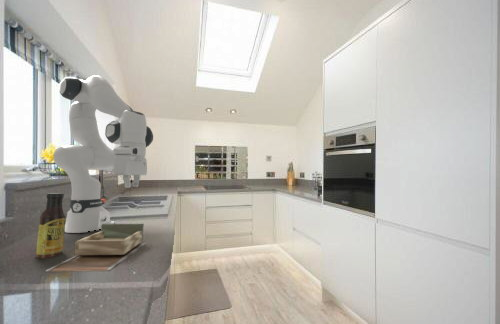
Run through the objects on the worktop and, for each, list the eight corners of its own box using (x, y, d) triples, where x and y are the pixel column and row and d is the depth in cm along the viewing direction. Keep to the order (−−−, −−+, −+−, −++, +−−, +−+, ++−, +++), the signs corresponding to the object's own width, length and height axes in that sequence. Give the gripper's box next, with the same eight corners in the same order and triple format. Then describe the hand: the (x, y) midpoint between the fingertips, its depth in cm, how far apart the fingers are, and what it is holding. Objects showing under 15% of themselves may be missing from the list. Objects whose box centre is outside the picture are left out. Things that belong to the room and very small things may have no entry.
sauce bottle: (46, 262, 65) (50, 194, 67) (29, 260, 67) (34, 193, 68) (68, 254, 72) (72, 192, 73) (52, 253, 73) (56, 192, 74)
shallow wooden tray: (102, 243, 80) (103, 223, 80) (142, 243, 81) (143, 223, 81) (74, 258, 66) (75, 233, 66) (123, 257, 67) (124, 233, 67)
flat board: (99, 247, 80) (99, 243, 80) (145, 246, 81) (145, 242, 81) (44, 275, 57) (45, 270, 57) (109, 274, 58) (109, 269, 58)
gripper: (136, 154, 98) (135, 185, 97) (110, 148, 77) (108, 188, 76) (151, 154, 98) (150, 185, 97) (129, 148, 78) (127, 188, 77)
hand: (131, 187), depth 87 cm, fingers open, 5 cm apart
